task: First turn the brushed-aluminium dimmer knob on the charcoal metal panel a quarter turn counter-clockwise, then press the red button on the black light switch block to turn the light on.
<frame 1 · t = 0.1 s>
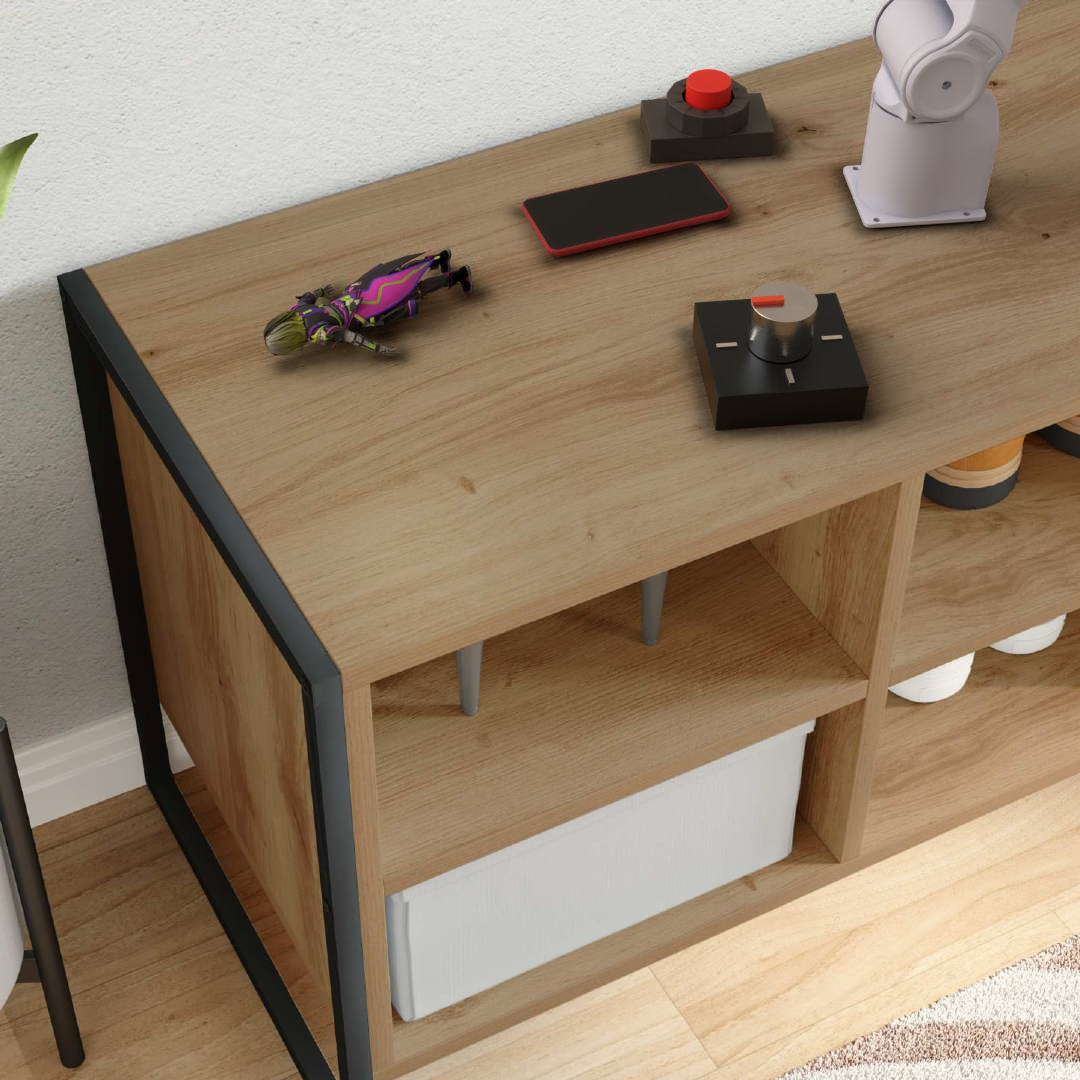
dimmer knob: (781, 320, 105), point 5 cm above the sideboard, hinge at 0.0°
light button: (708, 90, 126), point 4 cm above the sideboard, slide at 0.1 cm
dimmer panel: (775, 376, 109), on the sideboard
smartphone: (625, 216, 122), on the sideboard
light switch: (705, 139, 129), on the sideboard
character figure: (367, 324, 114), on the sideboard
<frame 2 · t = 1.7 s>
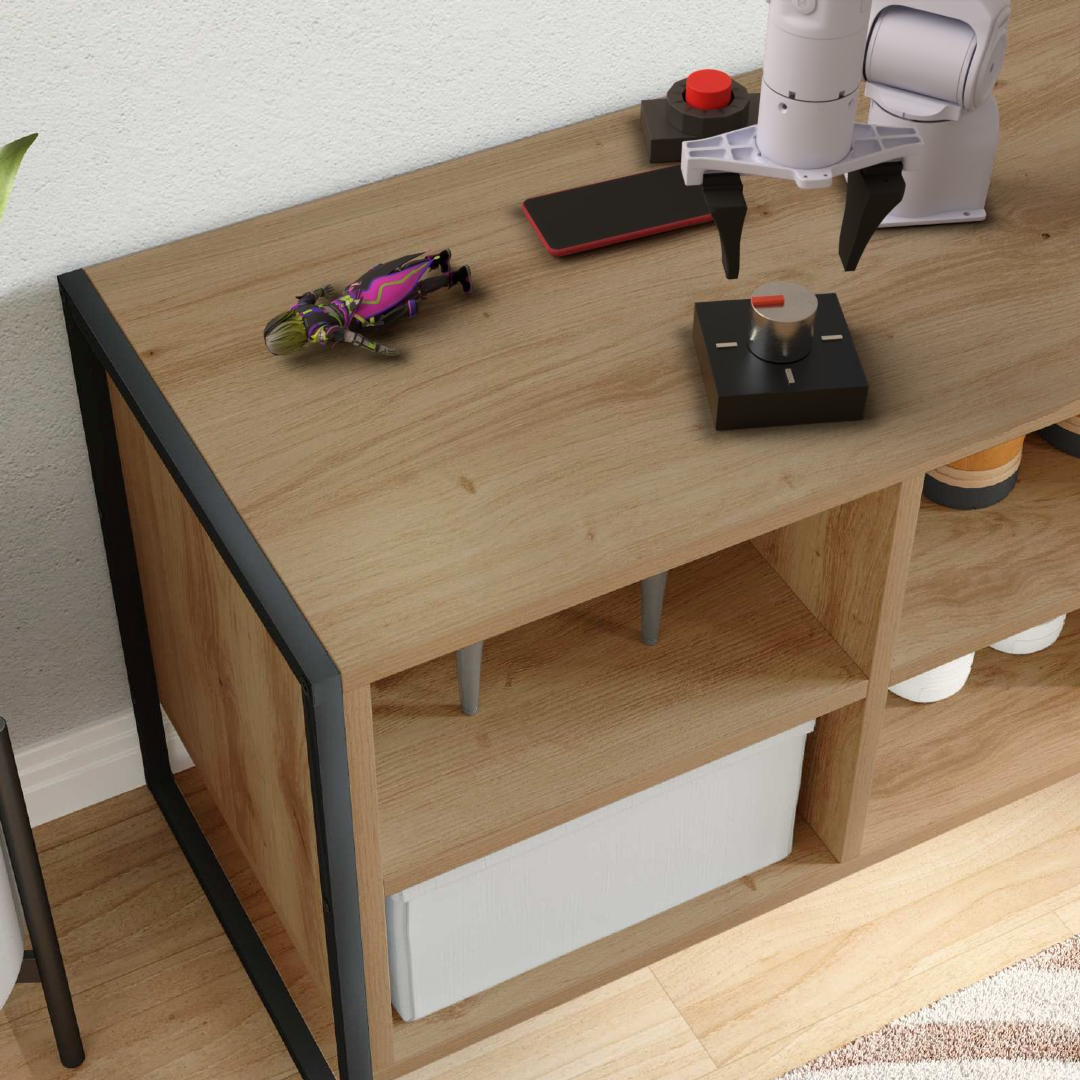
hand: (788, 266, 102), 9 cm above the sideboard, tool pointing down, fingers open, 7 cm apart
nothing on the sideboard moved.
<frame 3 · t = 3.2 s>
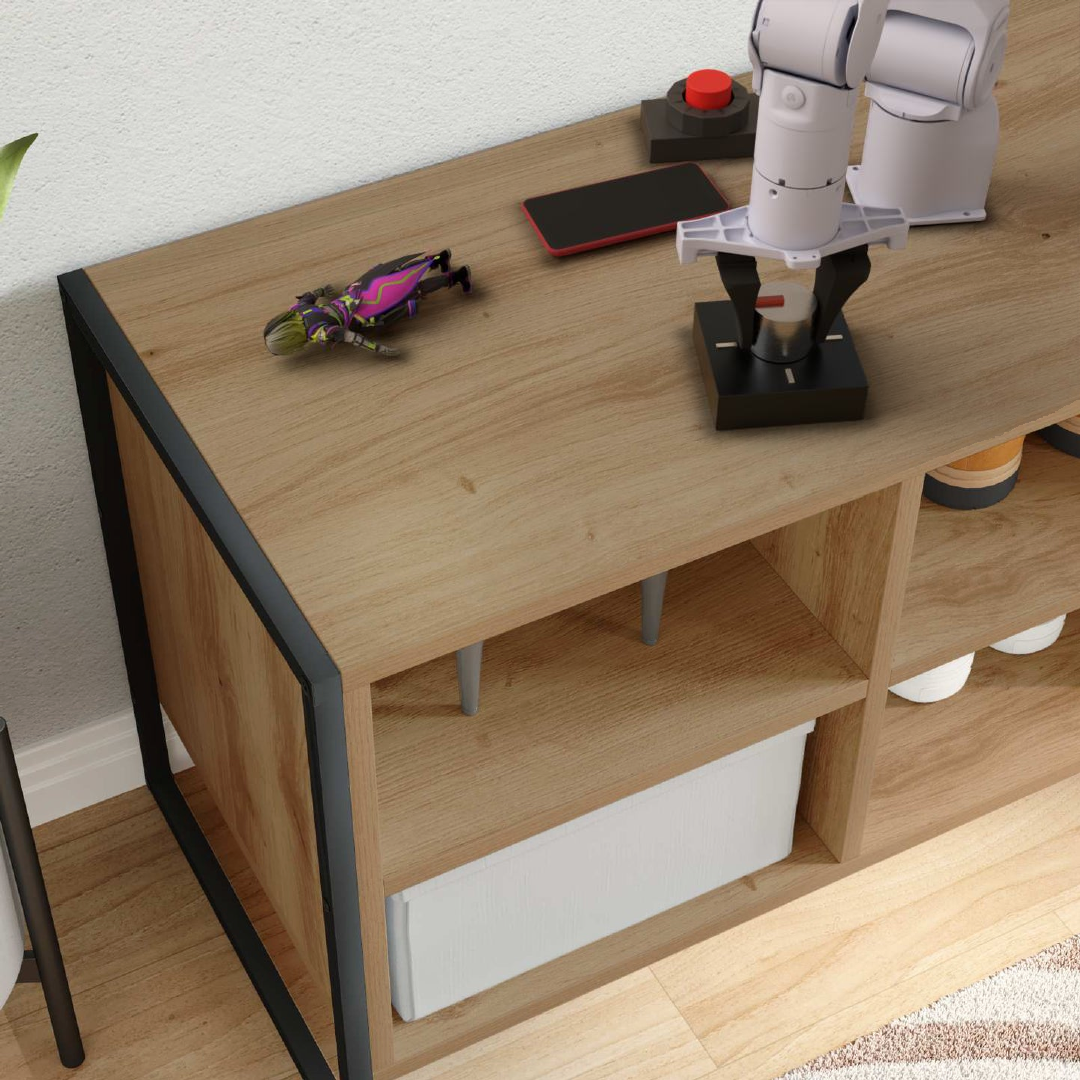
hand: (779, 336, 106), 4 cm above the sideboard, tool pointing down, fingers closed on dimmer knob, 4 cm apart
dimmer knob: (781, 320, 105), point 5 cm above the sideboard, hinge at 0.1°, touching gripper
everything else where it was.
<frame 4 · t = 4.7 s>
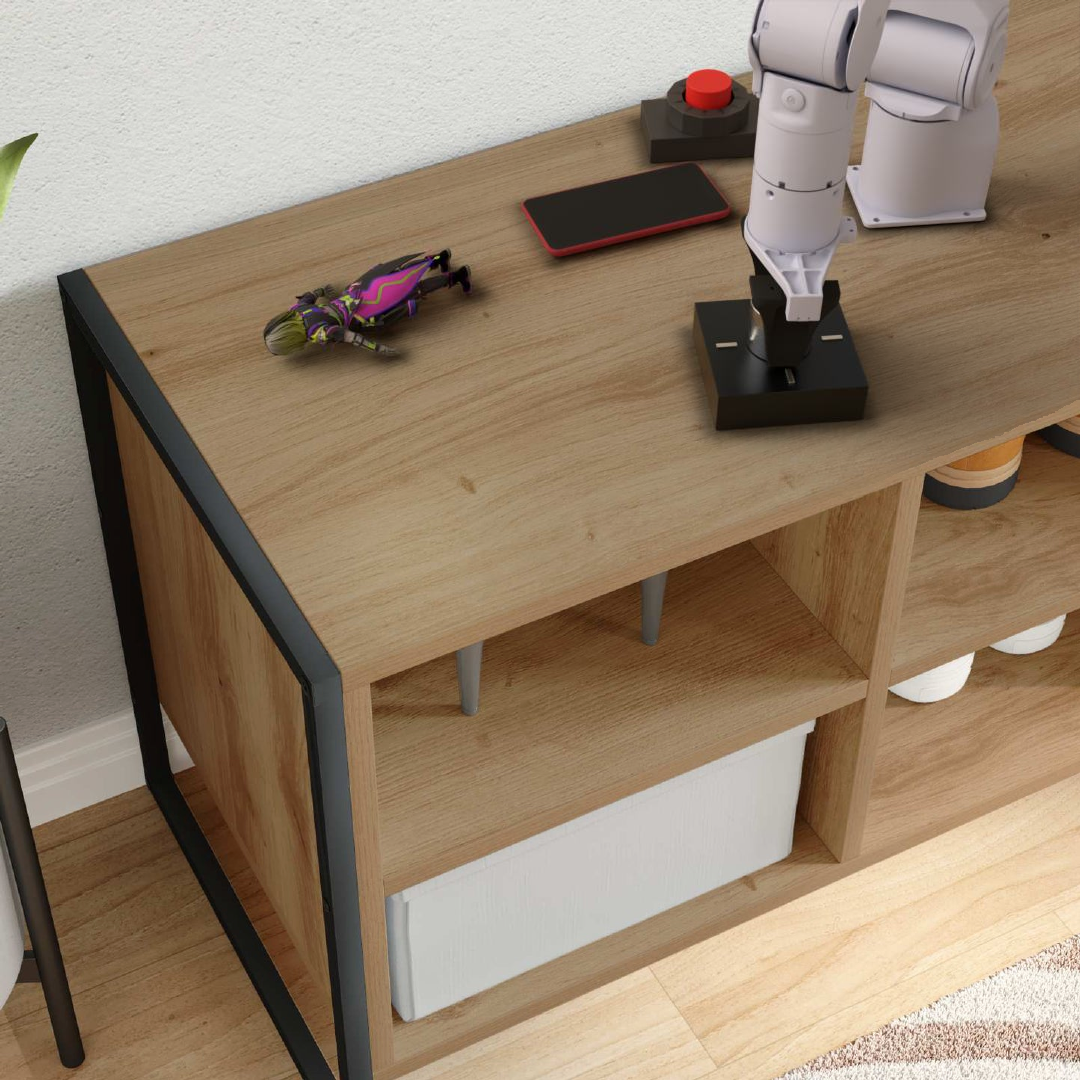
hand: (779, 339, 106), 3 cm above the sideboard, tool pointing down, fingers closed on dimmer knob, 4 cm apart
dimmer knob: (781, 320, 105), point 5 cm above the sideboard, hinge at 85.4°, touching gripper
everything else where it was.
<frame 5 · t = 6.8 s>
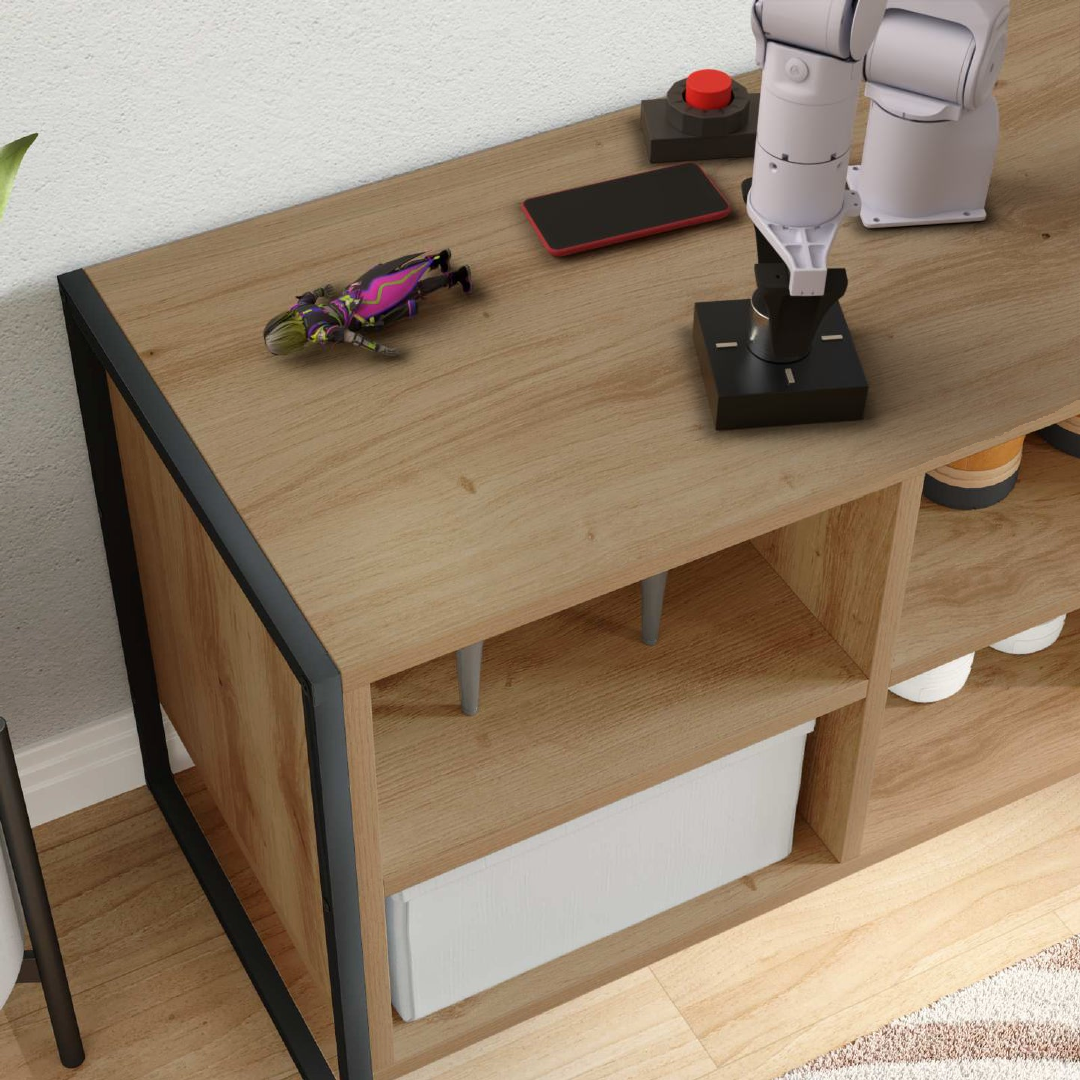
hand: (782, 316, 105), 5 cm above the sideboard, tool pointing down, fingers open, 7 cm apart
dimmer knob: (781, 320, 105), point 5 cm above the sideboard, hinge at 85.0°
everything else where it was.
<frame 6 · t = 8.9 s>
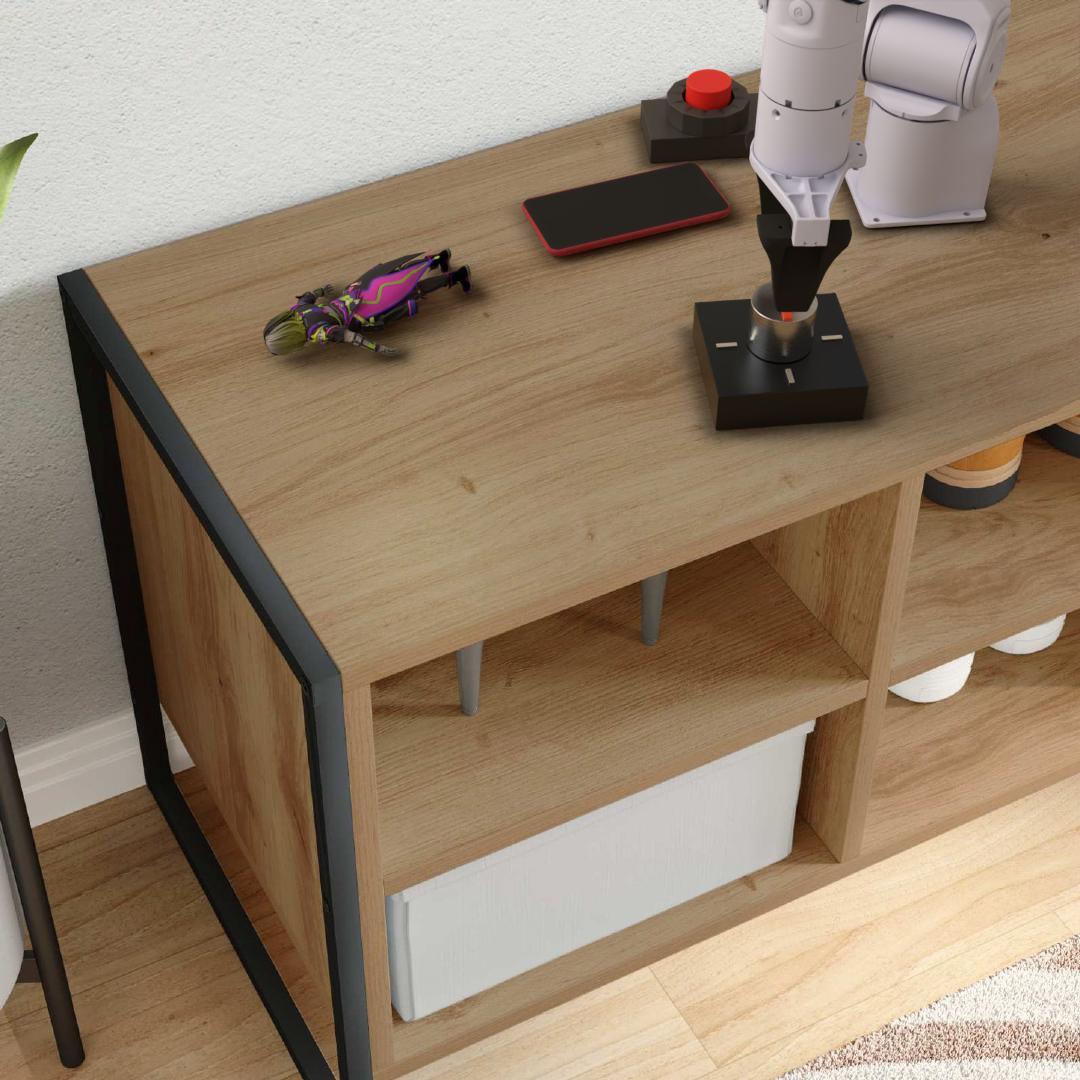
hand: (785, 272, 103), 9 cm above the sideboard, tool pointing down, fingers open, 7 cm apart
nothing on the sideboard moved.
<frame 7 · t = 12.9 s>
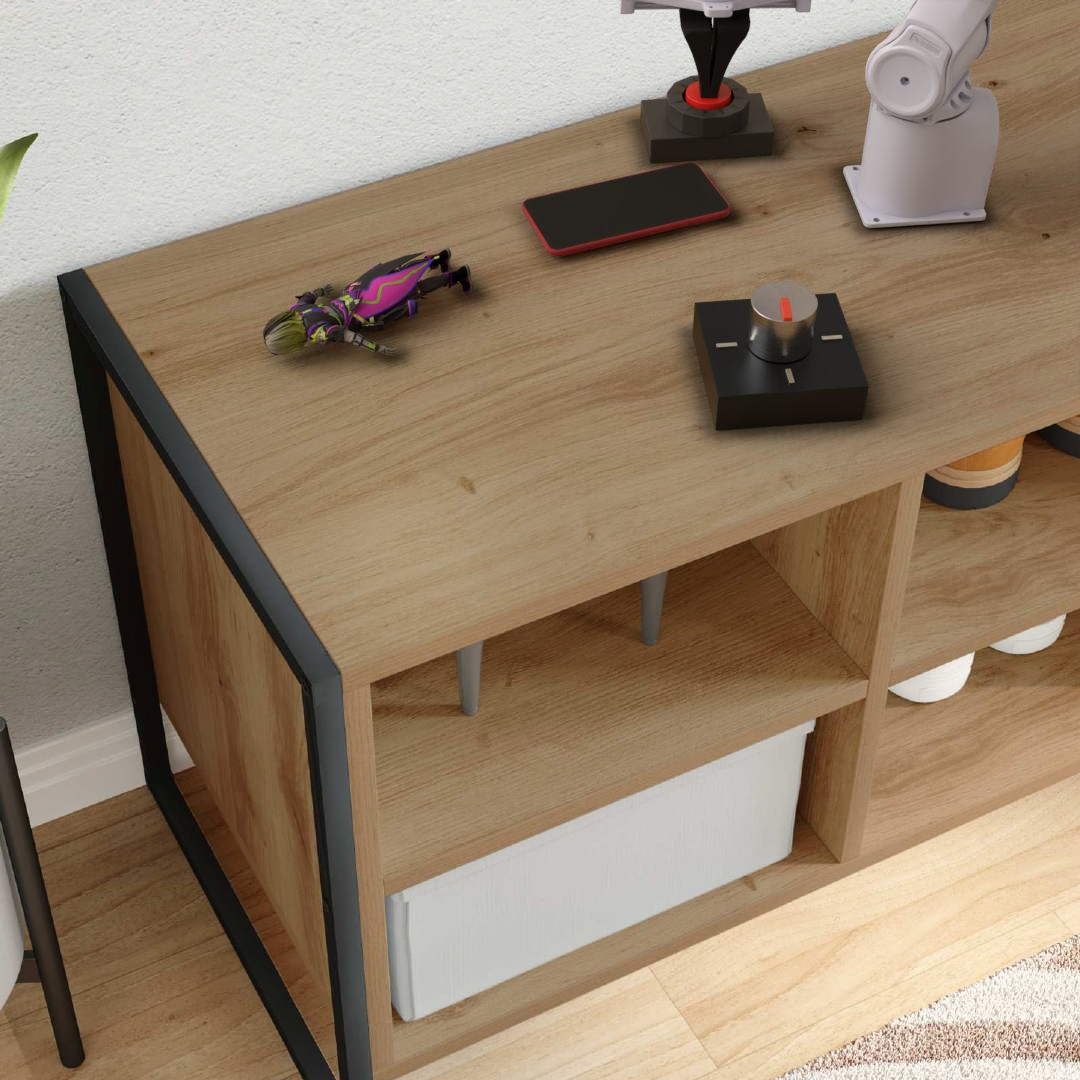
hand: (708, 91, 126), 4 cm above the sideboard, tool pointing down, fingers closed, pressing on light button
light button: (707, 101, 127), point 3 cm above the sideboard, slide at -0.9 cm, touching gripper
everything else where it was.
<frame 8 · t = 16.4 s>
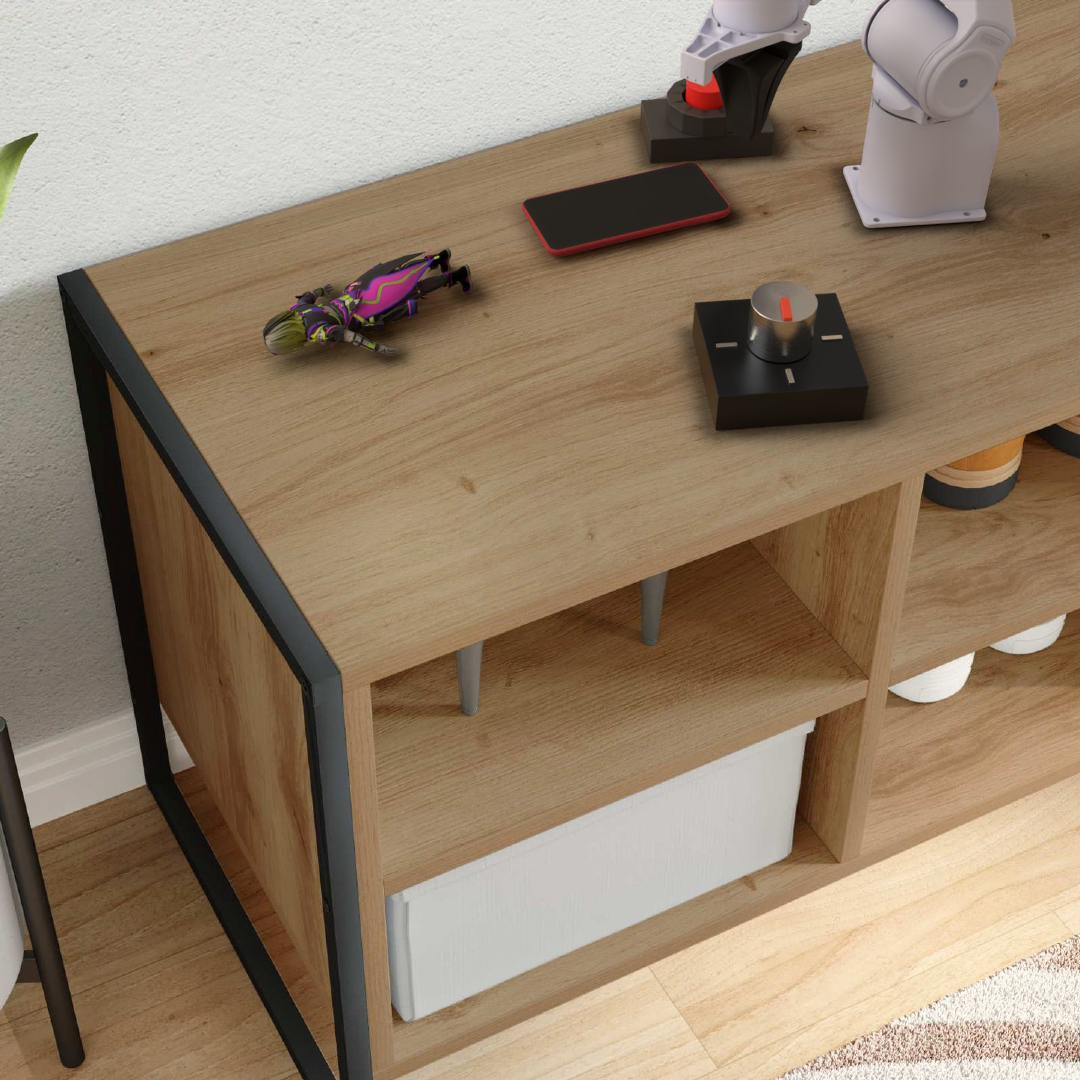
hand: (744, 131, 113), 9 cm above the sideboard, tool pointing down, fingers closed
light button: (708, 90, 126), point 4 cm above the sideboard, slide at 0.1 cm
everything else where it was.
at the end: dimmer knob at +85° (first picture: +0°); light button pushed in 1.2 cm at the most during the clip, back to where it started at the end; light button slide at 0.1 cm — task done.
